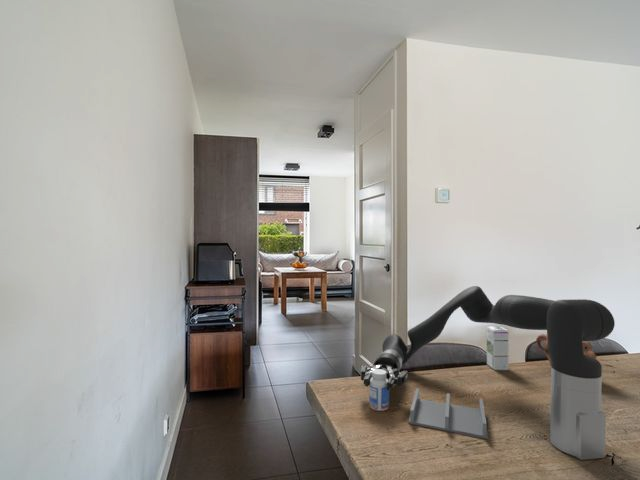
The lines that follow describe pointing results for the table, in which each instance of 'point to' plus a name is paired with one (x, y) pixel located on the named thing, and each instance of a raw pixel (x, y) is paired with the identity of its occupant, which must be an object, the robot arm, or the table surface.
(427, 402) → the dish rack
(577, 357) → the robot arm
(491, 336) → the syrup box
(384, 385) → the pill bottle
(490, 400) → the table surface
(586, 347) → the decorative planter
